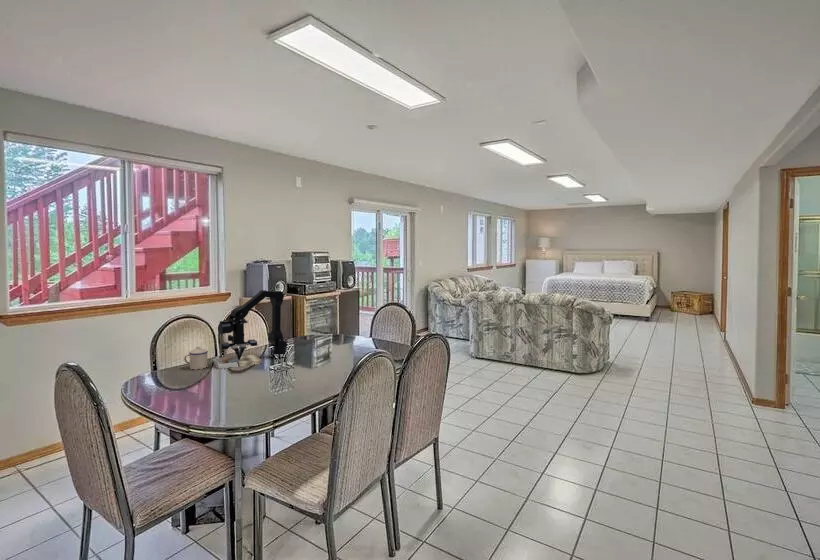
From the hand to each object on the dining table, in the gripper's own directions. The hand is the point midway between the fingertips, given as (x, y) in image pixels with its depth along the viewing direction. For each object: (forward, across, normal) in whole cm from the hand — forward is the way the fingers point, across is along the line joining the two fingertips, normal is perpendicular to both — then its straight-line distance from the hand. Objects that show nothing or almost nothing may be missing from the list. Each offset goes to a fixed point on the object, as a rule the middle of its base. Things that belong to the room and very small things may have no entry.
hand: (239, 359), depth 240 cm
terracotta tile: (+2, +4, -7) cm, 9 cm away
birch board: (+3, -5, -4) cm, 7 cm away
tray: (+3, +6, -4) cm, 8 cm away
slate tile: (+2, +3, -1) cm, 3 cm away
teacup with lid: (+3, +21, -6) cm, 22 cm away
